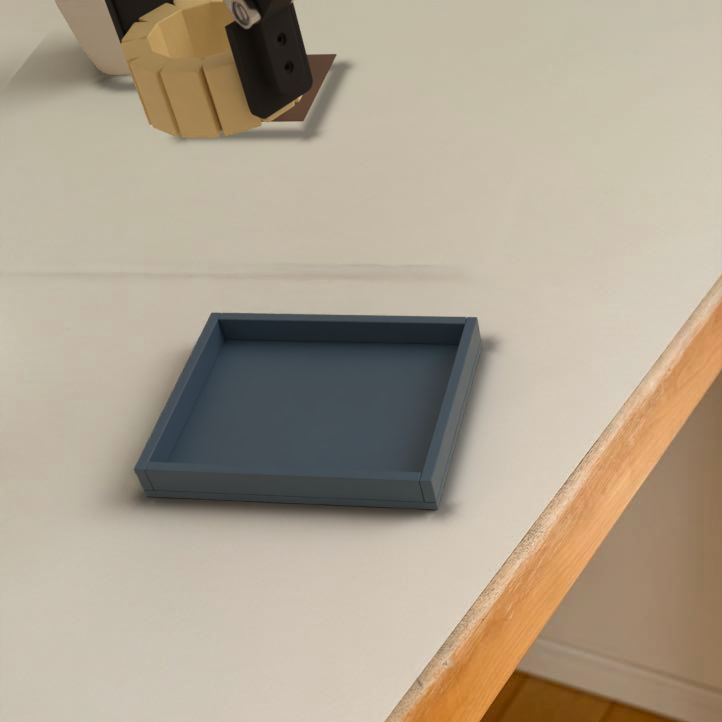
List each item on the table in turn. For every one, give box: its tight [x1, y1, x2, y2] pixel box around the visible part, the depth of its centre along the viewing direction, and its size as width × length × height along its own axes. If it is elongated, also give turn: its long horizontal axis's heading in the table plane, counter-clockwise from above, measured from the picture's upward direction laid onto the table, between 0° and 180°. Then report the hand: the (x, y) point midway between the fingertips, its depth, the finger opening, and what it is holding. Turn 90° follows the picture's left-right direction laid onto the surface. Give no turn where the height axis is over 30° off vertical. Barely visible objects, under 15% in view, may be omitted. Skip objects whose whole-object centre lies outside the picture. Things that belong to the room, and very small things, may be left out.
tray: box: [133, 312, 483, 510], centre depth 65 cm, size 15×12×2 cm
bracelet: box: [120, 0, 302, 139], centre depth 54 cm, size 7×7×3 cm
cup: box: [54, 0, 131, 76], centre depth 90 cm, size 8×8×10 cm
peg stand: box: [261, 53, 338, 123], centre depth 86 cm, size 9×9×6 cm
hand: (220, 77), depth 54 cm, fingers closed on bracelet, 7 cm apart
